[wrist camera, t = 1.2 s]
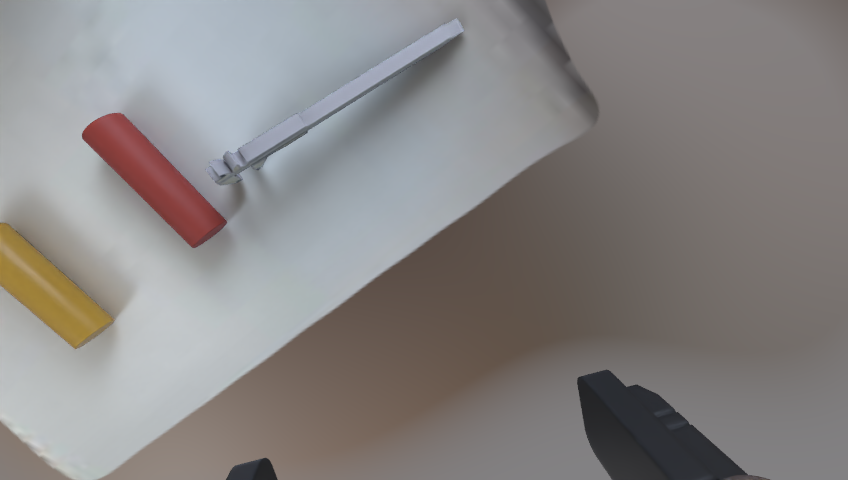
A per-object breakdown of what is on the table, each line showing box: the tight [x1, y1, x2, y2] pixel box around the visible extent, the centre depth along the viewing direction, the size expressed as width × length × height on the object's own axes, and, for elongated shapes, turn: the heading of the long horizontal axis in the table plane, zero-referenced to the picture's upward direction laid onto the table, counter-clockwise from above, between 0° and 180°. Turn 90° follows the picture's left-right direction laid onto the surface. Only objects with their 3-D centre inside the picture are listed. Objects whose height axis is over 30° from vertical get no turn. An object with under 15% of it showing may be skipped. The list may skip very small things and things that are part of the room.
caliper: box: [205, 18, 464, 185], centre depth 27 cm, size 20×1×6 cm, turn 123°
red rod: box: [82, 113, 227, 248], centre depth 29 cm, size 10×3×3 cm, turn 39°
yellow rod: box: [0, 223, 115, 349], centre depth 30 cm, size 10×3×3 cm, turn 39°
